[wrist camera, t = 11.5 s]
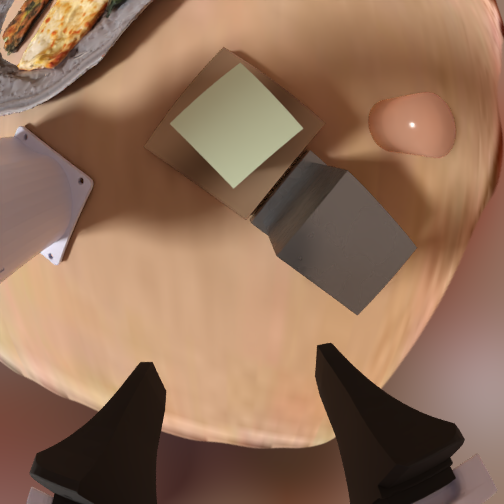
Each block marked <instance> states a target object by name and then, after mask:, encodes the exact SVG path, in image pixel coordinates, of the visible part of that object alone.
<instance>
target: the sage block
mask: <svg viewBox="0 0 504 504" xmlns="http://www.w3.org/2000/svg"><path fill="white" fill-rule="evenodd" d="M170 125H172V126H173V127H174V128H175V129H176V130H177V131H178V132H179V133H180V134H181V135H182V136H183V137H184V138H185V139H186V140H187V141H188V142H189V143H190V144H191V145H192V146H193V147H194V148H195V149H196V150H197V152H198V153H199V154H200V155H201V156H202V157H203V158H204V159H205V160H206V161H207V162H208V163H209V164H210V165H211V166H212V167H213V168H214V169H215V170H216V171H217V172H218V173H219V174H220V175H221V176H222V177H223V178H224V179H225V180H226V181H227V182H228V183H229V184H230V185H231V187H232V188H233V189H234V188H235V187H236V186H237V185H238V184H239V183H240V182H242V181H243V180H244V179H245V178H246V177H247V176H248V175H249V174H251V173H252V172H253V171H254V170H255V169H256V168H257V167H258V166H260V165H261V164H262V163H263V162H264V161H265V160H266V159H268V158H269V157H270V156H271V155H272V154H273V153H275V152H276V151H277V150H278V149H279V148H280V147H282V146H283V145H284V144H285V143H286V142H288V141H289V140H290V139H291V138H292V137H294V136H295V135H296V134H297V133H298V132H300V131H301V130H302V129H303V128H302V126H301V125H300V124H299V123H298V122H297V121H296V120H295V118H294V117H293V116H292V115H291V114H290V113H289V112H288V111H287V109H286V108H285V107H284V106H283V105H282V104H281V103H280V102H279V101H278V100H277V99H276V98H275V96H274V95H273V94H272V93H271V92H270V91H269V90H268V89H267V88H266V87H265V86H264V85H263V84H262V83H261V82H260V81H259V80H258V79H257V78H256V77H255V76H254V75H253V74H252V73H251V72H250V71H249V70H248V69H247V68H246V67H245V66H244V65H242V64H241V63H239V64H238V65H236V66H235V67H234V68H233V69H231V70H230V71H229V72H227V73H226V74H225V75H224V76H222V77H221V78H220V79H219V80H218V81H216V82H215V83H214V84H213V85H212V86H210V87H209V88H208V89H207V90H206V91H204V92H203V93H202V94H201V95H200V96H199V97H198V98H197V99H195V100H194V101H193V102H192V103H191V104H190V105H189V106H188V107H187V108H186V109H184V110H183V111H182V112H181V113H180V114H179V115H178V116H177V117H176V118H175V119H174V120H173V121H172V122H171V123H170Z"/></svg>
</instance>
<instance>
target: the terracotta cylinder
mask: <svg viewBox="0 0 504 504" xmlns="http://www.w3.org/2000/svg"><path fill="white" fill-rule="evenodd" d="M368 123H369V130H370V133H371V135H372V137H373V139H374V141H375V142H376V143H377V144H378V145H379V146H380V147H381V148H382V149H384V150H386V151H389V152H397V153H405V154H412V155H420V156H426V157H432V158H441V157H444V156H445V155H447V154H448V153H449V152H450V150H451V149H452V147H453V145H454V141H455V136H456V127H455V121H454V117H453V115H452V112H451V110H450V108H449V107H448V105H447V104H446V102H445V101H444V100H443V99H442V98H441V97H439V96H438V95H436V94H434V93H431V92H422V93H416V94H411V95H405V96H400V97H395V98H390V99H386V100H382V101H379V102H377V103H376V104H375V105H374V106H373V107H372V109H371V111H370V114H369V120H368Z"/></svg>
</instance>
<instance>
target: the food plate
mask: <svg viewBox="0 0 504 504" xmlns="http://www.w3.org/2000/svg"><path fill="white" fill-rule="evenodd" d="M152 1H153V0H57V2H56V3H55V5H54V6H53V7H52V9H51V10H50V12H49V14H48V16H47V17H46V18H45V19H44V21H43V23H42V25H41V26H40V28H39V30H38V31H37V33H36V35H35V36H34V37H33V38H32V40H31V42H30V44H29V45H28V48H27V49H26V51H25V52H24V54H23V57H22V59H21V61H20V63H19V64H18V65H17V66H16V65H14V64H11V63H10V62H8V61H6V60H4V59H3V58H2V55H1V53H0V116H5V115H7V114H8V115H10V114H12V113H14V112H15V113H18V112H19V113H20V112H21V111H25V110H28V109H32V108H34V107H35V106H38V105H39V104H40V103H41V104H42V103H44V101H48V100H49V99H51V98H52V97H53V96H55V95H57V94H58V93H59V92H61V91H62V90H65V88H66V87H68V86H69V85H71V84H72V83H73V81H74V82H75V81H76V80H77V79H78V78H79V77H81V76H82V75H83V74H84V73H85V72H86V71H88V70H89V69H90V68H92V67H93V66H95V65H97V64H98V63H99V60H100V61H101V60H103V58H104V56H105V55H106V51H107V52H108V51H109V49H110V48H111V47H112V46H113V44H115V42H116V41H117V40H118V38H119V37H120V36H121V34H122V33H123V32H124V31H125V30H126V29H127V27H128V26H130V24H131V23H132V21H133V20H136V19H137V17H138V16H139V14H141V13H142V12H143V10H144V9H146V7H147V6H148V5H149V4H150V3H151V2H152ZM13 2H14V0H0V33H1V31H2V29H1V28H2V24H3V22H4V21H5V17H6V14H7V12H8V10H9V8H10V7H11V5H12V3H13ZM50 2H51V0H26V1H25V3H24V4H23V6H22V7H21V11H18V14H17V16H16V17H15V18H14V19H13V20H12V22H10V24H9V25H8V27H7V28H6V30H5V31H4V34H3V40H4V41H5V45H4V49H5V50H6V51H8V54H7V55H10V54H11V53H15V52H16V50H17V49H18V47H19V46H20V44H21V43H22V41H23V40H24V38H25V37H26V36H27V34H28V33H29V31H30V29H31V28H32V26H33V25H34V23H35V22H36V20H37V19H38V18H39V16H40V15H41V13H42V12H43V11H44V9H45V8H46V7H47V6H48V5H49V3H50ZM45 74H46V76H45Z"/></svg>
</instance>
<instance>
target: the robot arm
mask: <svg viewBox="0 0 504 504" xmlns="http://www.w3.org/2000/svg"><path fill="white" fill-rule="evenodd" d="M27 136H28V138H27V139H26V137H27ZM81 178H83V180H84V182H83V184H82V183H81V181H80V180H81ZM92 188H93V180H92V179H91V178H90V177H89V176H87V175H86V174H85V173H83V172H82V171H81V170H79V169H78V168H77V167H75V166H74V165H73V164H72V163H70V162H69V161H68V160H66V159H65V158H64V157H62V156H61V155H60V154H58V153H57V152H56V151H55V150H53V149H52V148H51V147H49V146H48V145H47V144H46V143H44V142H43V141H42V140H41V139H39V138H38V137H37V136H36V135H34V134H33V133H32V132H31V131H29V130H28V129H27V128H26V127H24V126H20V127H18V129H17V131H16V133H15V136H14V137H4V138H0V283H1V282H3V281H4V280H5V279H6V278H8V277H9V276H10V275H11V274H13V273H14V272H15V271H16V270H18V269H19V268H20V267H21V266H23V265H24V264H25V263H27V262H28V261H29V260H31V259H32V258H33V257H35V256H36V255H38V254H39V253H41V254H42V255H43V256H45V257H46V258H47V259H48V260H49V261H51V262H52V263H53V264H54V265H59V264H60V263H61V261H62V258H63V255H64V253H65V250H66V247H67V245H68V242H69V239H70V237H71V234H72V232H73V230H74V227H75V225H76V222H77V220H78V218H79V216H80V213H81V211H82V209H83V207H84V205H85V203H86V200H87V198H88V196H89V194H90V192H91V190H92ZM51 254H52V255H53V257H52V256H51ZM315 378H316V382H317V386H318V390H319V394H320V397H321V400H322V402H323V405H324V407H325V410H326V412H327V415H328V417H329V420H330V423H331V425H332V428H333V430H334V433H335V436H336V439H337V442H338V445H339V450H340V454H341V458H342V462H343V466H344V471H345V476H346V481H347V486H348V492H349V498H350V504H483V503H484V502H485V501H487V500H488V499H489V498H490V497H491V496H493V495H494V494H495V493H496V492H497V488H496V487H495V484H494V482H493V480H492V478H491V476H490V475H489V473H488V471H487V469H486V467H485V465H484V463H483V461H482V460H481V458H480V456H479V454H475V455H474V456H472V457H471V458H470V459H468V460H467V461H465V462H464V463H462V464H460V465H459V466H458V467H456V468H455V469H453V470H452V469H451V467H450V466H451V465H452V463H453V462H452V460H451V458H450V457H451V456H452V455H453V454H454V453H455V452H456V451H457V450H458V449H459V448H460V447H461V446H462V445H463V443H464V440H465V439H464V437H463V436H462V434H461V432H460V430H459V429H458V428H457V426H456V425H455V424H454V423H451V422H448V421H444V420H441V419H438V418H434V417H432V416H429V415H427V414H424V413H422V412H419V411H417V410H415V409H413V408H411V407H409V406H407V405H405V404H403V403H402V402H400V401H398V400H397V399H395V398H393V397H392V396H390V395H389V394H387V393H386V392H384V391H383V390H382V389H380V388H379V387H378V386H376V385H375V384H374V383H373V382H371V381H370V380H369V379H368V378H367V377H365V376H364V375H363V374H362V373H361V372H360V371H359V370H358V369H356V368H355V367H354V366H353V365H352V364H351V363H350V362H349V361H348V360H347V359H346V358H345V357H344V356H343V355H342V354H341V353H340V352H339V351H338V349H337V348H336V347H335V346H334V345H333V344H332V343H327V344H322V345H317V356H316V371H315ZM165 403H166V390H165V388H164V385H163V383H162V381H161V379H160V377H159V375H158V373H157V371H156V369H155V366H154V364H153V362H140V363H139V365H138V366H137V367H136V368H135V370H134V371H133V372H132V373H131V375H130V376H129V377H128V378H127V380H126V381H125V382H124V383H123V385H122V386H121V387H120V388H119V390H118V391H117V392H116V393H115V395H114V396H113V397H112V398H111V399H110V400H109V401H108V402H107V404H106V405H105V406H104V407H103V408H102V409H101V410H100V411H99V412H98V413H97V414H96V415H95V416H94V417H93V418H92V419H91V420H90V421H88V422H87V423H86V424H85V425H84V426H83V427H81V428H80V429H78V430H77V431H76V432H75V433H73V434H72V435H70V436H69V437H67V438H66V439H64V440H63V441H61V442H59V443H58V444H56V445H54V446H52V447H50V448H48V449H46V450H44V451H41V452H39V453H37V454H36V457H35V459H34V462H33V465H32V467H31V470H30V475H31V477H32V478H33V479H34V480H36V481H37V482H38V483H40V484H41V485H43V486H44V487H46V488H47V489H49V490H50V491H52V492H53V493H55V494H54V497H52V496H50V495H48V494H46V493H44V492H42V491H40V490H38V489H36V488H34V487H31V489H30V492H29V496H28V499H27V503H26V504H157V499H156V457H157V449H158V443H159V438H160V433H161V428H162V423H163V418H164V412H165Z"/></svg>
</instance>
